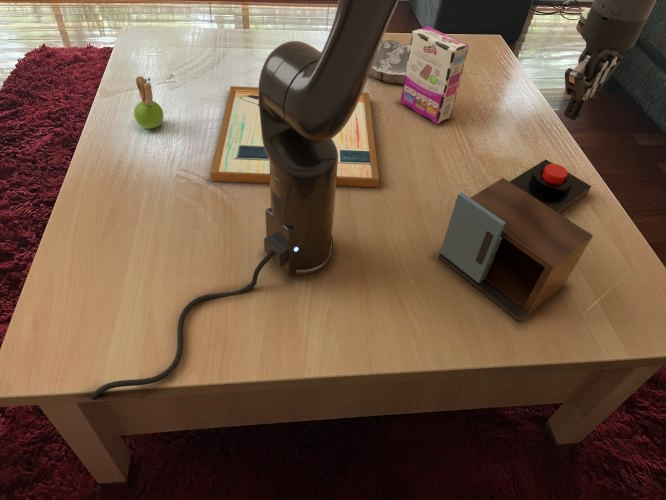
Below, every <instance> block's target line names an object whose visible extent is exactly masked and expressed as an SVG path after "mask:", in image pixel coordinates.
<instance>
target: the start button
mask: <svg viewBox="0 0 666 500" xmlns="http://www.w3.org/2000/svg"><path fill="white" fill-rule="evenodd" d="M568 172H569V171H568V170H567V169H566V168H565V167H564V166H563V165H560V164H557V163H553V164H548V165H547V166H546V167H545V169H544V171H543V173H542V178H543V179H544V180H546V181H547V182H549V183H552V184H555V185H559V184H562V183H564V181H565V179H566V177H567V175H568Z"/></svg>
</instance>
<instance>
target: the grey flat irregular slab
mask: <svg viewBox="0 0 666 500" xmlns="http://www.w3.org/2000/svg"><path fill="white" fill-rule="evenodd" d="M409 49H410V43H407V44H403V45H402V43H401V42H399V41H395V40H393V39H392V40H391V39H390V40H387V39H386V40H382V41H381V44H380V46H379V49H378V51H377V54H376V57H375V59H374V62H373V65H372V67H371V70H370V73H369V75H368V77H370V78H372V79H375V80H379V81H383V82H384V83H387V84H396V85H403V84H404V78H405V72H406V67H407V61H408V55H409Z"/></svg>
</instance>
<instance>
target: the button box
mask: <svg viewBox="0 0 666 500" xmlns="http://www.w3.org/2000/svg"><path fill="white" fill-rule="evenodd" d="M548 164H554V163H553V162H552V161H550V160H548V159H544V160H542V161H540V162H539V163H538V164H536V165H534V166H533V167H531V168H529V169H528V170H526V171H525V172H523V173H521V174H519V175H518V176H516V177H514V178H513V179H511V180H509V182H511V183H512V184H514V185H515V186H517V187H518V188H520V189H522V190H523V191H525V192H526V193H528V194H529V195H531V196H532V197H534V198H536V199H537V200H539V201H540V202H542V203H543V204H545V205H546V206H548V207H550V208H551V209H553V210H554V211H556V212H557V213H559V214H560V215H562V213H564V212H565V211H567V210H568V209H569V208H570V207H572V206H573V205H575V204H576V203H578V202H579V201H580V200H582V199H583V198H585V197H586V196H587V195H588V194H589V192H590V190H591V188H592V185H591V184H588V183H587V182H585V181H584V180H582V179H580V178H578V176H575V175H574V174H572V173H570V172H569V171H567V172H568V175H567V177H566V179H565V181H564V183H562V184H559V185H555V184H552V183H549V182H547V181H546V180H544V179H543V178H542V173H543V171H544V169H545V167H546V166H547V165H548Z"/></svg>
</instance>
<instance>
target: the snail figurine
mask: <svg viewBox="0 0 666 500" xmlns="http://www.w3.org/2000/svg"><path fill="white" fill-rule="evenodd" d="M150 81H151V78H150V77H147V78H144V76H140V75H139V76H137V77H136V78H135V83H136V86H137V89H138V91H139V98H140V100H141V101H140V102H138V103H137V105H135V108H134V110H133V114H134V115H133V116H134V119H135V122H137V124H138V125H139V126H141V127H143V128H144V129H149V130H150V129H156V128H158V127H159V126H160V125H161V124H162V123H163V120H164V111H163V108H162V107H161V105H160V104H159V103H158V102H156V101H154V100H153V98H154V97H153V91H152V85H151V82H150Z"/></svg>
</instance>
